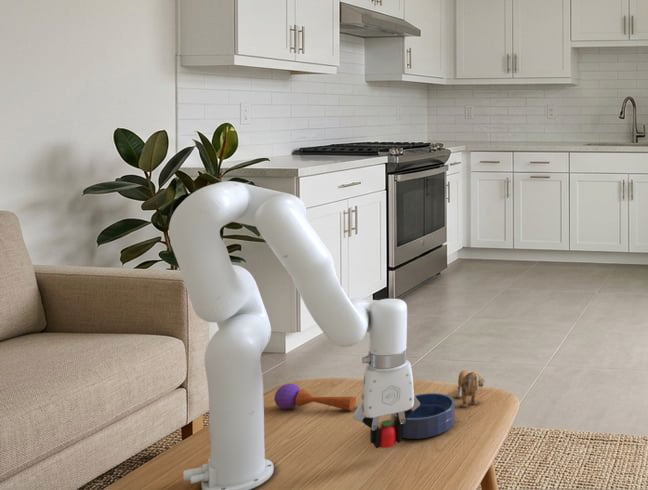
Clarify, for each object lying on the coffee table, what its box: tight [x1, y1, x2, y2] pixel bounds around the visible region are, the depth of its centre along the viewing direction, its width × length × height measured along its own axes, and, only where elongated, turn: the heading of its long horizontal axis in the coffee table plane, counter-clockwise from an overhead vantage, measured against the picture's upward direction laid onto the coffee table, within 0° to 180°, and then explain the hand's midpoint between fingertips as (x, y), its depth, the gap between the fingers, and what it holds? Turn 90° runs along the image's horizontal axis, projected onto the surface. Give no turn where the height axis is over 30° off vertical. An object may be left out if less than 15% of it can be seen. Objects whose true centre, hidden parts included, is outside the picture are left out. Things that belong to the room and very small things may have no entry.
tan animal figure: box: [456, 369, 486, 408], centre depth 171 cm, size 15×5×9 cm, turn 33°
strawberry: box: [378, 419, 397, 449], centre depth 143 cm, size 4×4×5 cm
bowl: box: [390, 392, 456, 440], centre depth 157 cm, size 14×14×5 cm
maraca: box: [274, 383, 357, 412], centre depth 167 cm, size 6×6×20 cm
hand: (386, 442), depth 143 cm, fingers closed on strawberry, 3 cm apart
